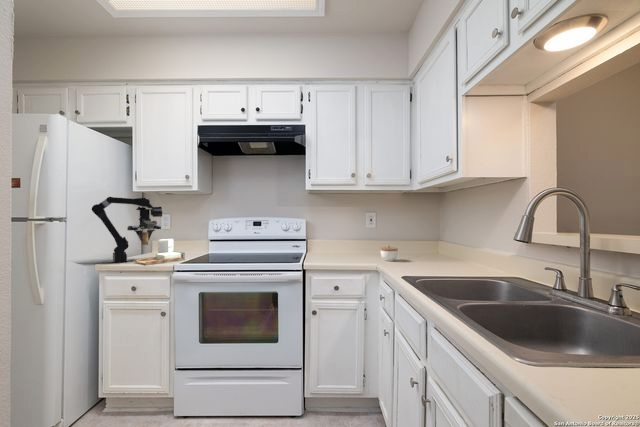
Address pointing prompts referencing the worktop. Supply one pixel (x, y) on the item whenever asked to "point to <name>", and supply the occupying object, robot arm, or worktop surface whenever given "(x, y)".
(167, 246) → the supplement box
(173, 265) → the worktop surface
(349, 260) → the worktop surface
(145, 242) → the dowel
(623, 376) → the worktop surface
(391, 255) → the lidded jar
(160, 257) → the socket block
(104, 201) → the robot arm
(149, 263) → the rail base
